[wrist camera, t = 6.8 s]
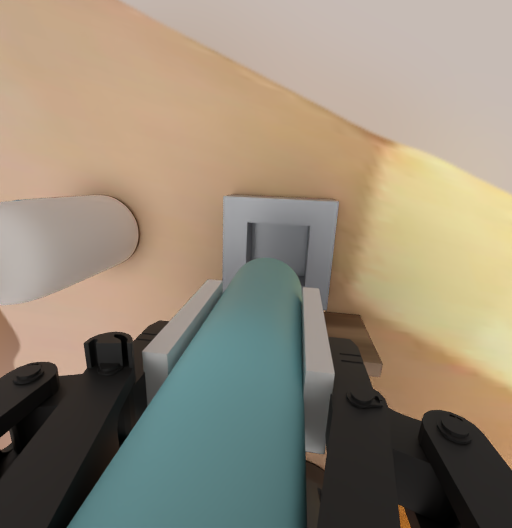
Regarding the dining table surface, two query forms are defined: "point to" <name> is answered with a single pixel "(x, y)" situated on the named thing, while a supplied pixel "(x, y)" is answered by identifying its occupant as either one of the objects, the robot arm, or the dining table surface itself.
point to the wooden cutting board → (355, 338)
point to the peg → (220, 422)
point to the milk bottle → (60, 243)
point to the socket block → (281, 236)
